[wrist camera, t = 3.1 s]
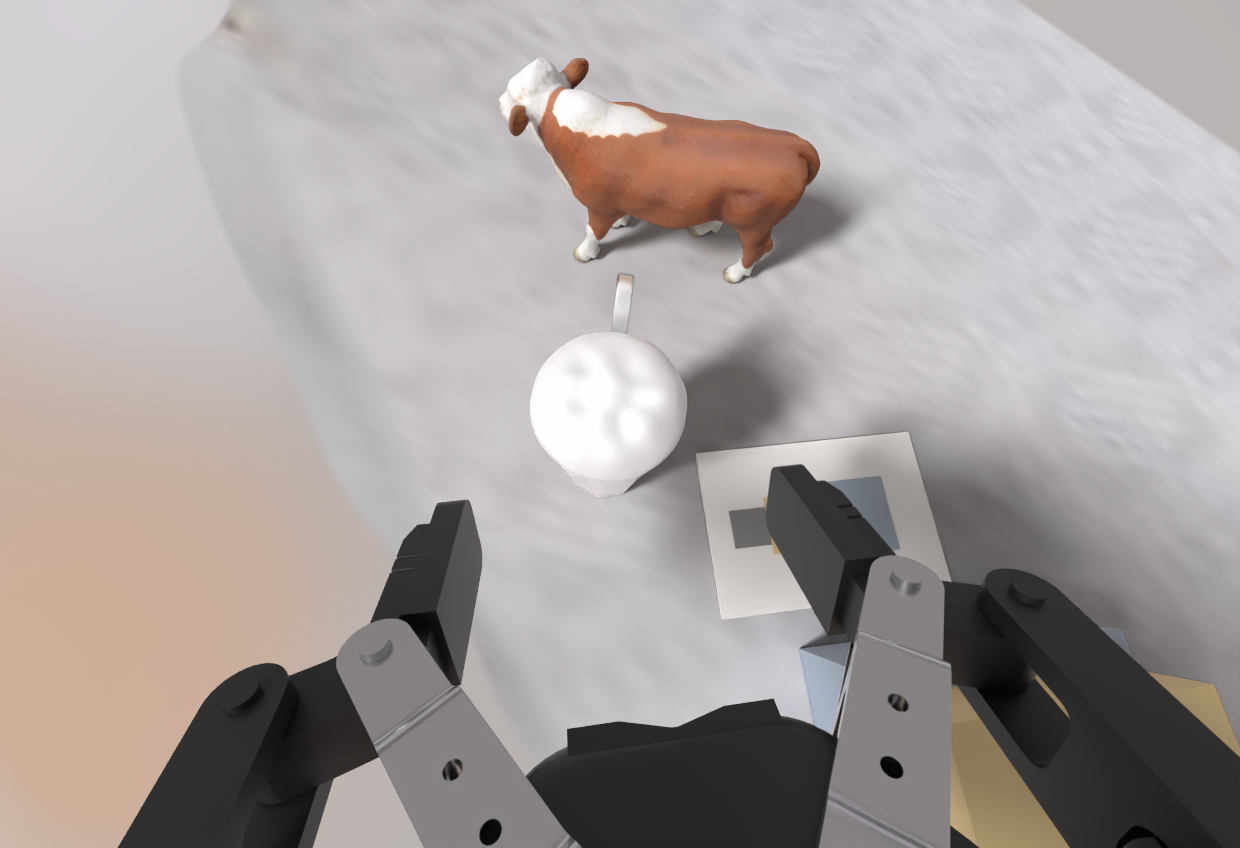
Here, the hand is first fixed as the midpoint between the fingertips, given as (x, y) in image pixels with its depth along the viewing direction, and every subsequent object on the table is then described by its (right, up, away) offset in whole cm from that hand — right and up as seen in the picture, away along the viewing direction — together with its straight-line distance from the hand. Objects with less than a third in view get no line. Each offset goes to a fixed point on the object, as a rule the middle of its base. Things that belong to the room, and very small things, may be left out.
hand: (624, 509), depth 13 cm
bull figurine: (+1, +12, +13) cm, 17 cm away
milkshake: (-1, +1, +9) cm, 9 cm away
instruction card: (+9, -2, +9) cm, 12 cm away
